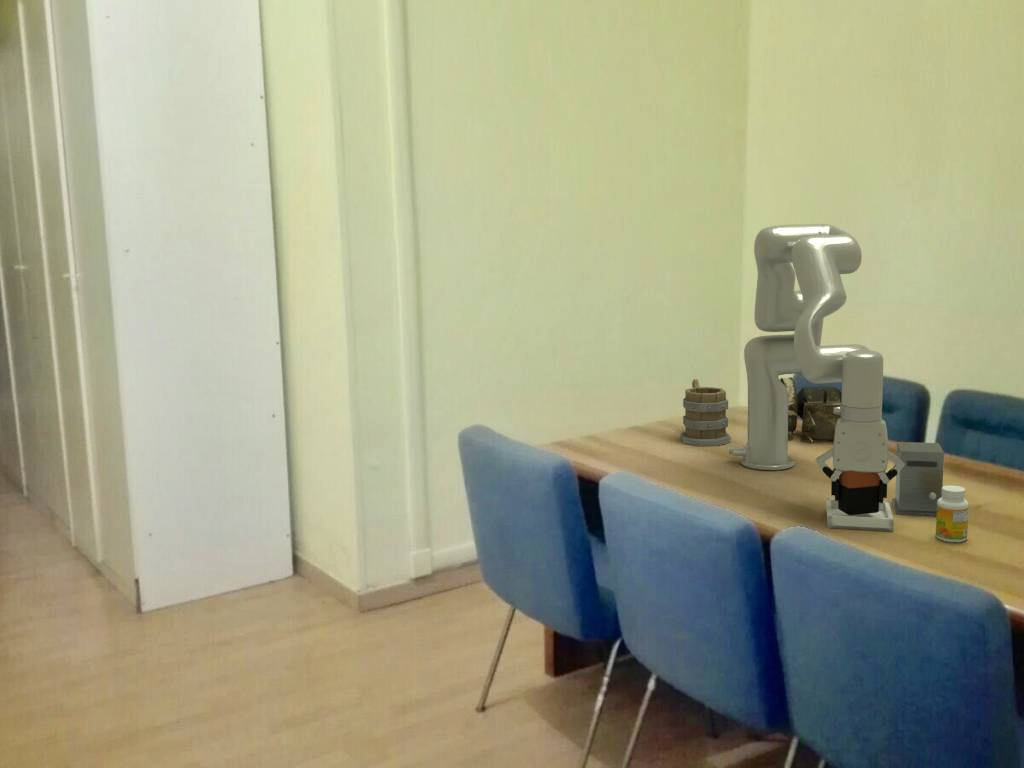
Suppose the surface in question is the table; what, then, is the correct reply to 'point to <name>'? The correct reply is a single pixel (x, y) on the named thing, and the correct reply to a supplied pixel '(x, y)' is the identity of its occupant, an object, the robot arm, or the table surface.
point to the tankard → (705, 416)
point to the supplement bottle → (952, 515)
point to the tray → (859, 518)
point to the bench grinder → (813, 410)
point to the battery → (858, 492)
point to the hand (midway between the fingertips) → (858, 499)
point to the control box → (919, 478)
